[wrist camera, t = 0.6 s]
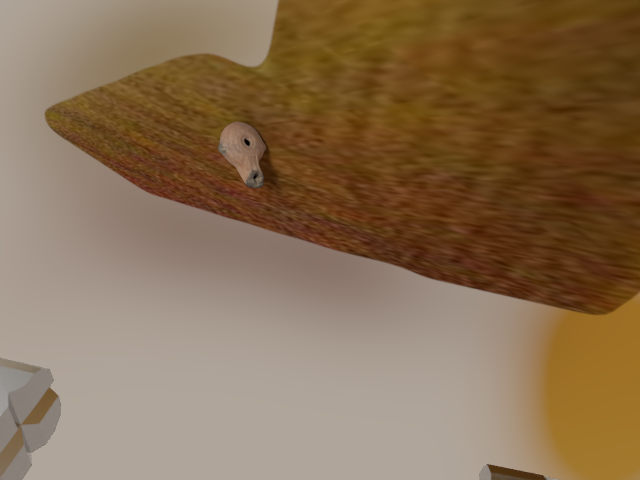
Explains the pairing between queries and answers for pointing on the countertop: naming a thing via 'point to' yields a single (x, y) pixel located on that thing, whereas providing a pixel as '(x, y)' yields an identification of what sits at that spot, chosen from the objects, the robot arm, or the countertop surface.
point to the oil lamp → (243, 151)
